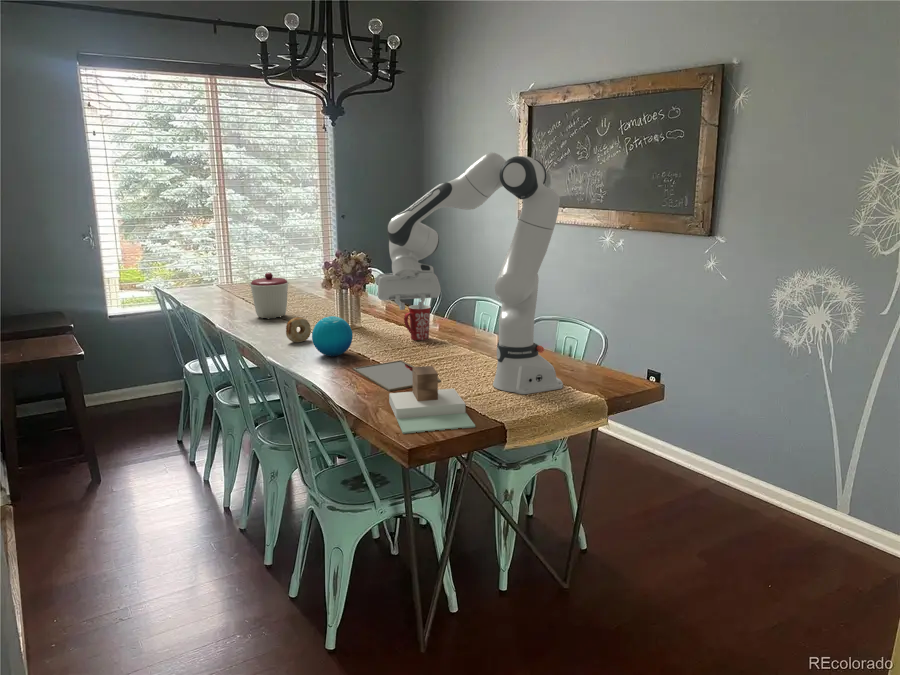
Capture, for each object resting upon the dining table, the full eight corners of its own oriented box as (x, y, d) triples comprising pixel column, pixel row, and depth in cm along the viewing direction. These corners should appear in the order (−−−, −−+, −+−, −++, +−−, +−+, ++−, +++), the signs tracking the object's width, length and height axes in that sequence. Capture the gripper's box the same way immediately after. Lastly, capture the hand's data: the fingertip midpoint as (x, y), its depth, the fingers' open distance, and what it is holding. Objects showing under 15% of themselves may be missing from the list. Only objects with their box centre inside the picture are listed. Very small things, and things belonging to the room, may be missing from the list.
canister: (297, 313, 327) (294, 270, 322) (281, 321, 310) (278, 276, 305) (262, 312, 331) (259, 269, 325) (244, 320, 313) (241, 275, 308)
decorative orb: (340, 362, 245) (338, 322, 242) (305, 358, 251) (302, 319, 247) (360, 352, 259) (359, 314, 255) (326, 348, 264) (324, 311, 261)
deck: (454, 397, 208) (454, 388, 207) (465, 413, 195) (465, 403, 194) (389, 402, 204) (389, 393, 203) (396, 419, 191) (396, 409, 190)
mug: (420, 334, 286) (420, 303, 283) (435, 338, 280) (435, 306, 276) (397, 340, 277) (397, 307, 274) (412, 344, 271) (411, 311, 268)
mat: (466, 414, 194) (466, 412, 194) (475, 427, 185) (475, 425, 184) (397, 420, 190) (397, 418, 190) (402, 433, 180) (402, 431, 180)
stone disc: (290, 344, 270) (288, 320, 268) (285, 343, 273) (284, 318, 270) (313, 340, 277) (311, 316, 274) (308, 338, 279) (307, 315, 277)
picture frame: (440, 382, 224) (401, 362, 247) (440, 380, 224) (401, 360, 247) (388, 392, 214) (352, 370, 237) (388, 389, 214) (352, 367, 237)
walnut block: (432, 391, 205) (432, 365, 203) (437, 399, 197) (437, 373, 195) (412, 392, 204) (412, 367, 202) (417, 401, 196) (417, 374, 194)
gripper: (375, 268, 216) (379, 304, 209) (437, 266, 221) (444, 301, 214) (373, 280, 222) (378, 315, 215) (435, 277, 226) (441, 312, 219)
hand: (411, 308), depth 214 cm, fingers open, 5 cm apart
